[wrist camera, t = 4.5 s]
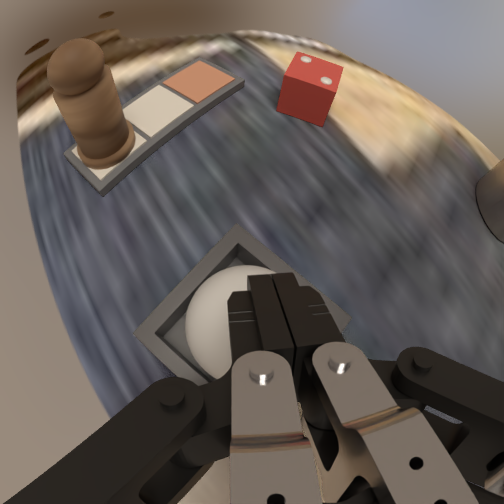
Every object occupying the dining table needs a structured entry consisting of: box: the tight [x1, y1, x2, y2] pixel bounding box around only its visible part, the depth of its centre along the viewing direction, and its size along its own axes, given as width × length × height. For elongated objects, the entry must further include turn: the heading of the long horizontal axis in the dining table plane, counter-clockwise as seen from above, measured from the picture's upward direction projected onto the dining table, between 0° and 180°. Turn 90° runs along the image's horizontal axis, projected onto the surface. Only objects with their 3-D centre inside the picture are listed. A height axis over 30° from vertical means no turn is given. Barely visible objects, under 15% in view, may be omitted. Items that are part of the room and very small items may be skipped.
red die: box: [276, 52, 343, 127], centre depth 28 cm, size 5×5×5 cm
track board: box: [63, 57, 245, 197], centre depth 28 cm, size 19×7×1 cm, turn 140°
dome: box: [185, 265, 276, 379], centre depth 18 cm, size 7×7×8 cm
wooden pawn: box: [47, 38, 136, 170], centre depth 20 cm, size 6×6×12 cm
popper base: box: [133, 223, 352, 386], centre depth 20 cm, size 10×10×4 cm
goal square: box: [163, 61, 235, 104], centre depth 29 cm, size 6×6×1 cm
